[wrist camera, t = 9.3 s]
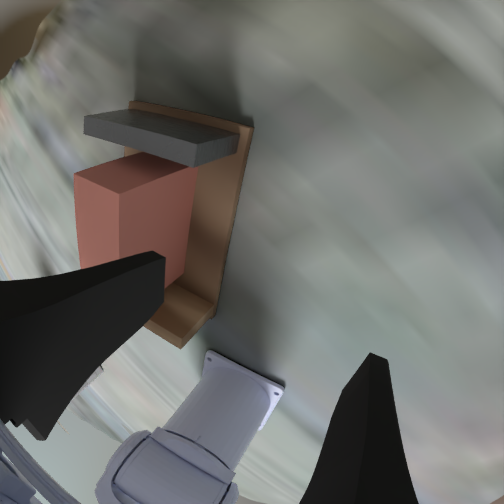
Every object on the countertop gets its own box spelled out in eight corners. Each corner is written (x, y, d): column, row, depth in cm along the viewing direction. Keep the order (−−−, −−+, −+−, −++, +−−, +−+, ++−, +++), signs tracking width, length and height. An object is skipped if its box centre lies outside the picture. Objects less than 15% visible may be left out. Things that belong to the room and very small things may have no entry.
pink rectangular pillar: (183, 272, 24) (123, 322, 19) (146, 252, 25) (84, 294, 20) (198, 163, 20) (119, 194, 14) (153, 148, 21) (73, 173, 15)
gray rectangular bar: (236, 153, 18) (193, 168, 14) (131, 123, 20) (83, 133, 17) (240, 134, 17) (197, 144, 14) (132, 108, 20) (84, 116, 16)
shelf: (215, 315, 26) (180, 353, 22) (127, 266, 28) (89, 292, 24) (254, 127, 18) (207, 136, 13) (134, 100, 20) (80, 107, 16)
